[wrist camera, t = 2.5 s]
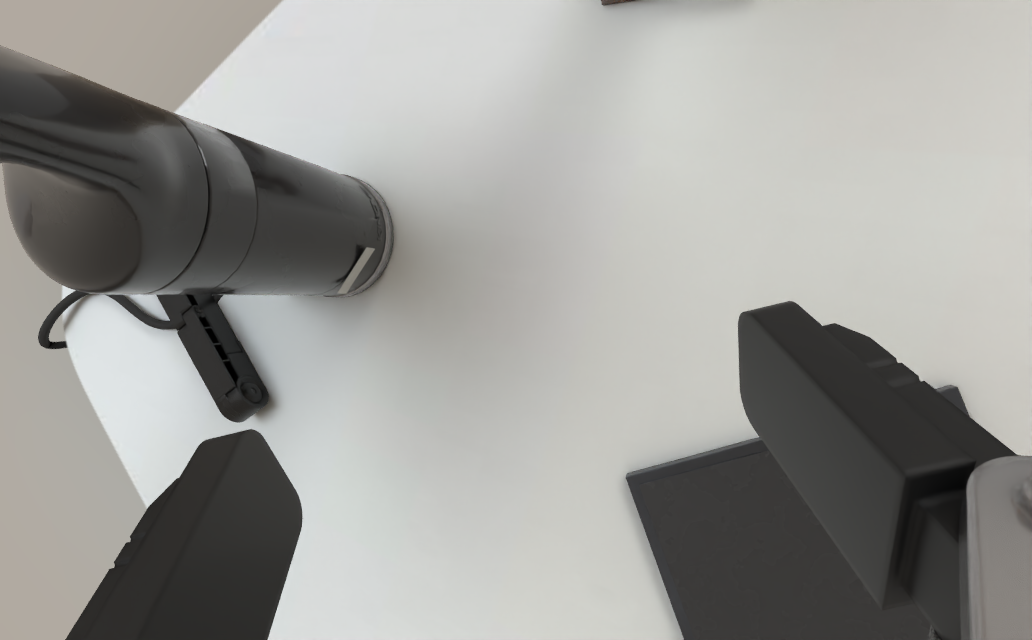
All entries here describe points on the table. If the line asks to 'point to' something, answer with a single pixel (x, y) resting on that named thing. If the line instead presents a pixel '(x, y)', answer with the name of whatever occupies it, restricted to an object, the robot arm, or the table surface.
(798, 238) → the table surface
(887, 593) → the robot arm
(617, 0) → the shelf
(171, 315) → the black slotted bar
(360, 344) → the table surface
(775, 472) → the plate
